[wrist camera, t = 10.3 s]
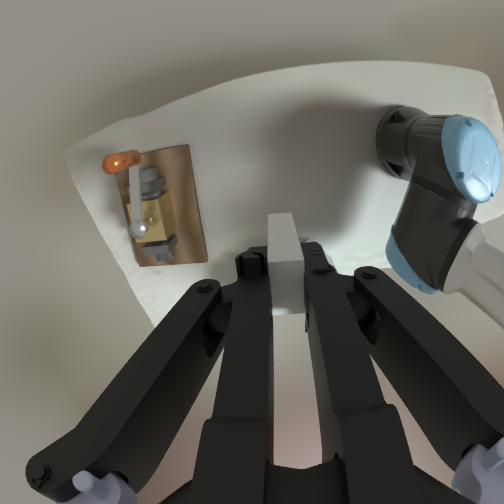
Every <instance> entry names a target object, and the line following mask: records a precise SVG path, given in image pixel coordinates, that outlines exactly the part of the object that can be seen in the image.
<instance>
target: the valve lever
mask: <svg viewBox="0 0 504 504" xmlns="http://www.w3.org/2000/svg"><path fill="white" fill-rule="evenodd" d="M102 167H103V170H104V171H105V173H107V174H113V173H116V172H119V171H122V170H124V169H127V168H129V185H130V202H131V215H132V222H131V223H130V225H129V227H128V230H129V233H130V235H131V236H132V237H133V238H135V239H141V238H143V237H144V236H145V235H146V234H147V232H148V230H149V226H148V223H147V222H146V221H145V220H144V216H143V200H142V174H141V155H140V153H139V152H138V151H137V150H130V151H125V152H121V153H117V154H113V155H109V156H106V157H105V158H104V160H103V163H102Z"/></svg>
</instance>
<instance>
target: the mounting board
mask: <svg viewBox="0 0 504 504" xmlns="http://www.w3.org/2000/svg"><path fill="white" fill-rule="evenodd" d="M140 155H141V170H143V169H147V168H151V167H157V170H158V175H159V177H163V176H165V178H166V185H164V186H163V187H161V192H165V191H170V195H171V200H172V205H173V210H174V215H175V220H176V225H177V228H176V229H175V230H174V232H173V233H172V234H171V235H173V234H177V238H178V242H177V244H176V245H175V246H174V252H175V256H174V257H173V258H172V259H170V260H167V261H163V262H157V261H155V259H154V255H144V254H143V251H142V247H143V246H144V245H145V244H146V243H147V242H141V243H136V240H135V238H133V237H132V236H131V238H132V242H133V246H134V249H135V253H136V256H137V259H138V263H139V266H140V267H145V266H160V265H175V264H189V263H204V262H207V261H208V255H207V250H206V245H205V239H204V234H203V229H202V223H201V218H200V212H199V206H198V200H197V194H196V188H195V182H194V176H193V169H192V163H191V156H190V149H189V145H183V146H178V147H173V148H168V149H163V150H158V151H154V152H149V153H145V154H140ZM116 174H117V179H118V184H119V189H120V193H121V198H122V202H123V207H124V211H125V215H126V219H127V223H128V227H129V225H130V223H131V221H130V216H129V212H128V208H127V204H128V203H130V195H129V194H128V189H127V187H128V186H130V185H129V168H127V169H124V170H122V171H119V172H116Z"/></svg>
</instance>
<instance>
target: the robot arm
mask: <svg viewBox="0 0 504 504" xmlns="http://www.w3.org/2000/svg"><path fill="white" fill-rule="evenodd" d="M376 146H377V151H378V155H379V157H380V159H381V161H382V163H383V165H384V166H385V167H386V169H387V170H388V171H389V172H390V173H392V174H393V175H395V176H396V177H398V178H401V179H403V180H406V181H410V182H409V185H408V188H407V191H406V194H405V197H404V199H403V202H402V205H401V207H400V210H399V213H398V215H397V218H396V220H395V223H394V225H392V227H391V234H390V237H389V239H388V242H387V245H386V256H387V259H388V261H389V263H390V265H391V266H392V268H393V269H394V270H395V271H396V273H397V274H398V275H399V276H400V277H401V278H402V279H404V280H405V281H406V282H407V283H409V284H410V285H411V286H413V287H417V288H418V289H419V290H420V291H421V292H424V293H427V294H435V293H437V292H438V291H442V292H443V293H444V294H451V293H455V292H460V293H461V294H462V295H464V296H465V297H466V298H467V299H469V300H470V301H471V302H472V303H474V304H475V305H476V306H477V307H478V308H480V309H481V310H482V311H483V312H485V313H486V314H487V315H488V316H489V317H490V318H491V319H493V320H494V321H495V322H496V323H497V324H498V325H499V326H500V327H502V328H503V329H504V251H502V250H501V249H499V248H498V247H497V246H495V245H494V244H492V243H491V242H489V241H488V240H487V239H486V238H485V234H484V230H483V227H482V225H481V224H480V223H479V222H477V221H475V220H474V219H473V215H474V212H475V210H476V207H477V204H478V203H484V202H487V201H489V200H490V197H493V196H494V195H495V193H496V192H497V189H498V187H499V184H500V180H501V174H502V162H501V155H500V151H499V150H498V146H497V142H496V140H495V138H494V136H493V134H492V133H491V131H490V130H489V129H488V128H487V127H486V126H485V125H484V124H483V123H482V122H480V121H479V120H477V119H474V118H471V117H465V116H462V115H458V114H455V115H429V114H427V113H425V112H424V111H422V110H420V109H417V108H414V107H399V108H395V109H393V110H391V111H389V112H388V113H387V114H386V115H385V116H384V117H383V118H382V120H381V121H380V123H379V126H378V129H377V133H376ZM415 184H416V185H415ZM417 185H418V186H417ZM419 186H420V187H419ZM421 187H422V188H421ZM445 199H446V200H445ZM447 200H448V201H447ZM449 201H450V202H449ZM235 261H236V268H237V275H238V278H237V281H236V282H234V283H232V284H229V285H226V286H222V287H221V285H220V283H219V282H218V281H217V280H213V279H203V280H200V281H198V282H196V283H194V284H193V285H192V286H191V287H190V288H189V289H188V290H187V291H186V292H185V294H184V295H183V296H182V297H181V298H180V299H179V301H178V302H177V303H176V304H175V305H174V306H173V308H172V309H171V310H170V311H169V312H168V314H167V315H166V316H165V317H164V318H163V319H162V321H161V322H160V323H159V324H158V325H157V327H156V328H155V329H154V330H153V331H152V333H151V334H150V335H149V336H148V337H147V339H146V340H145V341H144V342H143V343H142V345H141V346H140V347H139V349H138V350H137V351H136V352H135V353H134V354H133V356H132V357H131V358H130V359H129V360H128V362H127V363H126V364H125V365H124V367H123V368H122V369H121V370H120V372H119V373H118V374H117V375H116V377H115V378H114V379H113V380H112V381H111V383H110V384H109V385H108V387H107V388H106V389H105V390H104V392H103V393H102V394H101V395H100V397H99V398H98V399H97V400H96V402H95V403H94V404H93V405H92V407H91V408H90V409H89V411H88V412H87V413H86V414H85V416H84V417H83V418H82V420H81V421H80V422H79V424H78V425H77V426H76V427H75V429H73V430H71V431H70V432H68V433H67V434H65V435H64V436H63V437H61V438H60V439H58V440H57V441H55V442H54V443H52V444H51V445H49V446H48V447H46V448H45V449H43V450H42V451H40V452H39V453H37V454H36V455H34V456H33V457H32V458H31V459H30V460H29V461H28V463H27V466H26V478H27V481H28V483H29V485H30V486H31V488H33V489H34V490H36V491H37V492H39V493H41V494H42V495H44V496H46V497H48V498H50V499H51V500H53V501H54V502H56V503H57V504H138V501H137V497H136V494H137V493H138V492H139V491H140V490H141V489H142V488H143V487H144V486H145V485H146V483H147V482H148V481H149V480H150V478H151V477H152V475H153V474H154V472H155V471H156V469H157V468H158V466H159V464H160V462H161V461H162V459H163V457H164V455H165V453H166V451H167V450H168V448H169V446H170V445H171V443H172V441H173V439H174V438H175V436H176V434H177V432H178V431H179V429H180V427H181V425H182V423H183V421H184V420H185V418H186V416H187V414H188V413H189V411H190V409H191V407H192V405H193V403H194V402H195V400H196V398H197V396H198V394H199V392H200V391H201V389H202V387H203V385H204V383H205V381H206V380H207V378H208V376H209V374H210V372H211V370H212V368H213V367H214V365H215V363H216V361H217V359H218V357H219V355H220V354H221V352H222V350H223V348H224V353H223V358H222V364H221V369H220V375H219V381H218V386H217V391H216V398H215V403H214V408H213V414H212V417H211V418H210V419H207V420H206V421H205V422H204V424H203V428H202V432H201V437H200V442H199V448H198V453H197V458H196V464H195V469H194V474H193V479H192V480H190V481H188V482H187V483H185V484H184V485H182V486H181V487H180V488H179V489H177V490H176V491H175V492H173V493H172V494H171V495H169V496H168V497H167V498H165V499H164V500H163V501H161V502H160V503H159V504H504V389H503V388H502V386H501V385H500V384H499V383H498V382H497V381H496V380H495V378H493V376H492V375H491V374H490V373H489V372H488V371H487V370H486V369H485V367H484V366H483V365H482V364H481V363H480V362H479V361H478V360H477V359H476V358H475V357H474V356H473V355H472V354H471V353H470V352H469V351H468V350H467V349H466V348H465V347H464V346H463V345H462V344H461V343H460V342H459V341H458V340H457V339H456V338H455V337H454V336H453V335H452V334H451V333H450V332H449V331H448V330H447V329H446V328H445V327H444V326H443V325H442V324H441V323H440V322H439V321H438V320H437V319H436V318H435V317H434V316H432V315H431V314H430V313H429V312H428V311H427V310H426V309H425V308H424V307H423V306H422V305H421V304H419V303H418V302H417V301H416V300H415V299H414V298H413V297H412V296H410V295H409V294H408V293H407V292H406V291H405V290H404V289H403V288H402V287H400V286H399V285H398V284H397V283H395V281H393V280H392V279H391V278H390V277H389V276H388V275H386V274H385V273H384V272H383V271H382V270H380V269H378V268H375V267H372V266H365V267H360V268H357V269H356V270H355V271H354V276H348V275H341V274H338V273H337V271H336V268H335V267H334V266H332V265H330V264H329V263H328V261H327V258H326V256H325V253H324V251H323V249H322V246H321V245H320V244H318V243H317V242H306V243H300V242H299V238H298V234H297V230H296V227H295V223H294V219H293V216H292V212H287V213H274V214H268V246H262V247H250V248H249V249H248V250H247V251H246V252H244V253H241V254H240V255H238V256H237V257H236V258H235ZM305 310H306V319H305V321H306V322H305V332H308V339H309V346H310V353H311V360H312V367H313V374H314V382H315V389H316V397H317V406H318V414H319V422H320V432H321V442H322V464H319V465H316V466H313V467H310V468H306V469H295V468H288V467H282V466H277V465H274V458H273V448H274V446H273V445H274V367H273V366H274V355H273V353H274V352H273V315H284V314H297V313H305ZM224 346H225V347H224ZM369 354H370V355H371V356H372V358H373V359H374V360H375V362H376V363H377V365H378V366H379V368H380V369H381V370H382V372H383V373H384V375H385V376H386V378H387V379H388V380H389V382H390V383H391V385H392V386H393V388H394V389H395V391H396V392H397V394H398V395H399V396H400V398H401V399H402V401H403V402H404V404H405V405H406V407H407V408H408V410H409V411H410V413H411V414H412V416H413V417H414V419H415V420H416V421H417V423H418V425H419V426H420V428H421V429H422V431H423V432H424V434H425V435H426V437H427V439H428V440H429V442H430V443H431V445H432V446H433V448H434V449H435V451H436V452H437V454H438V455H439V456H440V458H441V459H442V460H443V461H444V462H445V463H446V464H447V465H448V466H449V467H450V468H451V469H452V470H453V471H455V475H454V478H453V480H452V484H451V486H452V488H453V489H454V490H456V491H460V492H461V494H462V495H461V494H459V493H458V492H456V491H454V490H453V489H451V488H449V487H448V486H446V485H445V484H443V483H441V482H440V481H438V480H437V479H435V478H433V477H432V476H430V475H428V474H427V473H426V472H424V471H422V470H421V469H419V468H418V467H417V466H415V465H413V461H412V458H411V454H410V450H409V446H408V443H407V439H406V436H405V433H404V429H403V426H402V422H401V419H400V416H399V413H398V411H397V409H396V407H395V406H394V405H393V404H387V403H386V402H385V400H384V397H383V394H382V391H381V387H380V384H379V381H378V378H377V375H376V372H375V369H374V366H373V363H372V360H371V358H370V355H369Z"/></svg>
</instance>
